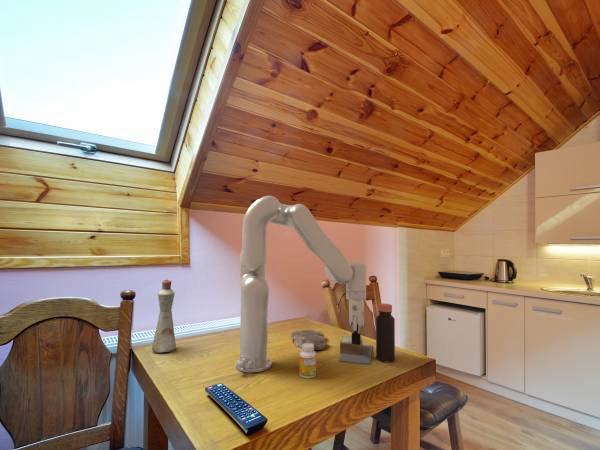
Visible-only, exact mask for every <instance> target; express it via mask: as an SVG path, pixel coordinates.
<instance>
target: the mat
mask: <svg viewBox="0 0 600 450" xmlns="http://www.w3.org/2000/svg"><path fill="white" fill-rule="evenodd" d="M372 351H373V345H371V344H362V353H361V355H351V354H341V355H340V357H339V362H340V363H347V364H357V365H364V366H371V363H372V353H373V352H372Z"/></svg>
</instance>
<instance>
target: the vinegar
mask: <svg viewBox="0 0 600 450" xmlns="http://www.w3.org/2000/svg"><path fill="white" fill-rule="evenodd" d="M378 312H379V314H378V315H377V316H376V317H375V323H376V324H375V334H376V335H375V340H376V341H375V347H376V348H375V357H376V359H377V360H379V361H380V362H383V363H392V362H394V361H395V360H396V351H395V350H396V344H395V343H396V341H395V340H396V338H395V337H396V336H395V335H396V334H395V333H396V332H395V331H396V329H395V327H396V326H395V317H394V316H393V315H392V313H393V305H392V304H390V303H379V304H378Z"/></svg>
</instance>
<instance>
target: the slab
mask: <svg viewBox="0 0 600 450" xmlns="http://www.w3.org/2000/svg"><path fill="white" fill-rule="evenodd" d="M362 345H363V336H361V343H360V345H356V344H352V335H345V334H343V335H342V337H341V340H340V343H339V353H340V354H341V355H342V354H351V355H361V353H362Z"/></svg>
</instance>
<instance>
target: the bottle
mask: <svg viewBox="0 0 600 450" xmlns="http://www.w3.org/2000/svg"><path fill="white" fill-rule="evenodd" d="M161 287H162V288H161V290H160V291H158V293H157V296H158V297H157V298H158V303H159V304H158V305H159V314H158V319H157V322H156V323H157V324H156V329H155V332H154V337H153V342H152V345H151V349H152V353H156V354H157V353H158V354H159V353H169V352H174V350H175V349H176V346H177V345H176V344H177V343H176V337H175V328H174V321H173V312H172V308H173V304H174V299H175V298H174V297H175V294H176V293H175V292H174V290H173V289H172V280H170V279H167V278H166V279H165V280H162V281H161Z"/></svg>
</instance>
